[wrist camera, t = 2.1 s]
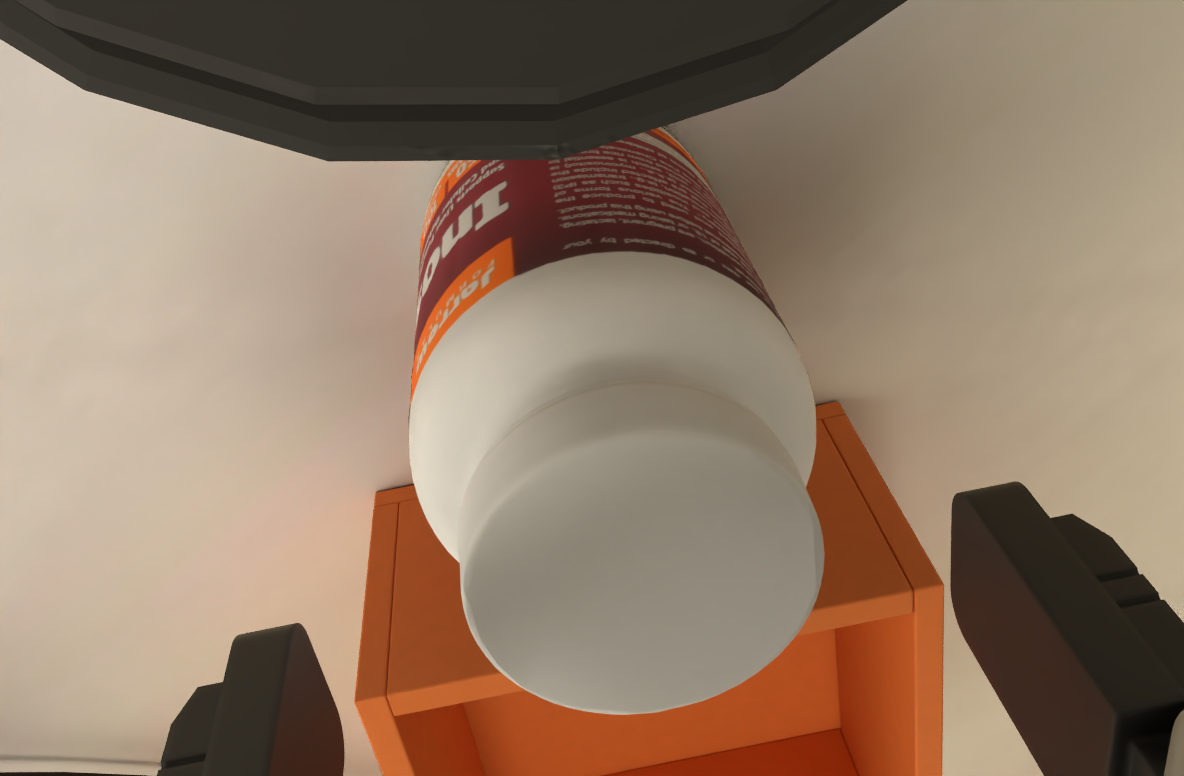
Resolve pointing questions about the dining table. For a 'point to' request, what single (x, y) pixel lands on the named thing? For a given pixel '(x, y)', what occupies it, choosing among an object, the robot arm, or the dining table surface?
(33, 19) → the coffee cup
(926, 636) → the bin
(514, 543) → the pill bottle
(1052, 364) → the dining table surface
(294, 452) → the dining table surface
